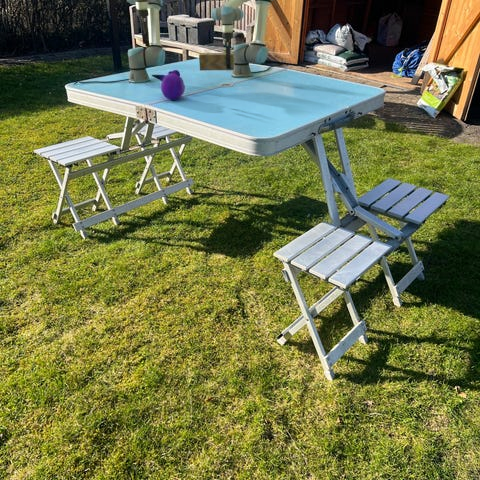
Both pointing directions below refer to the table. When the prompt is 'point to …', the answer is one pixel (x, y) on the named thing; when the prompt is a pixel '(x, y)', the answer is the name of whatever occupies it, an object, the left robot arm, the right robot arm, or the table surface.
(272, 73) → the table surface
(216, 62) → the box
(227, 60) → the right robot arm
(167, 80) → the toy
